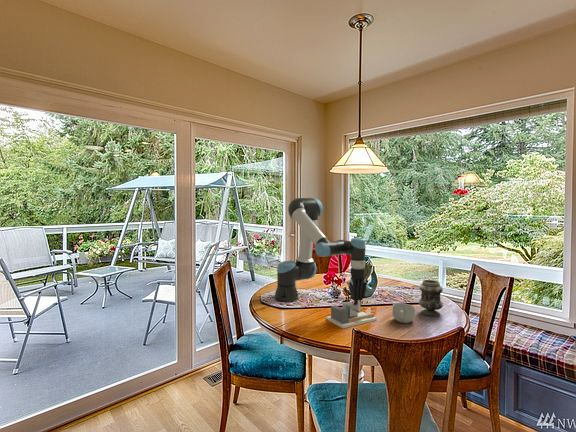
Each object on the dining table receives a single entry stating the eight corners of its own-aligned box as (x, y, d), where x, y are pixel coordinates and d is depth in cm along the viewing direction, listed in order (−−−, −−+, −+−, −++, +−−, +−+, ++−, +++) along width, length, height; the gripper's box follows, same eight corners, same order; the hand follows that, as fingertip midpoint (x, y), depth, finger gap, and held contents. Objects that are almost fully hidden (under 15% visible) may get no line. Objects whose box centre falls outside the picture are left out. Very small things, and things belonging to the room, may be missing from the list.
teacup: (396, 315, 166) (397, 301, 166) (417, 320, 159) (417, 305, 159) (386, 323, 156) (387, 307, 155) (408, 329, 149) (409, 312, 148)
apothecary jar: (440, 310, 173) (440, 279, 173) (444, 318, 162) (445, 284, 161) (417, 308, 177) (417, 277, 176) (420, 316, 165) (420, 283, 164)
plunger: (342, 316, 162) (342, 302, 161) (350, 314, 164) (350, 301, 164) (355, 322, 153) (355, 308, 152) (363, 320, 155) (363, 307, 155)
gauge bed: (326, 318, 162) (326, 305, 161) (358, 311, 172) (358, 299, 172) (343, 328, 149) (343, 313, 149) (376, 320, 160) (376, 306, 160)
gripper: (352, 270, 155) (352, 316, 156) (372, 267, 161) (371, 312, 162) (343, 267, 162) (343, 311, 163) (362, 265, 168) (362, 307, 169)
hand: (357, 311), depth 163 cm, fingers closed
